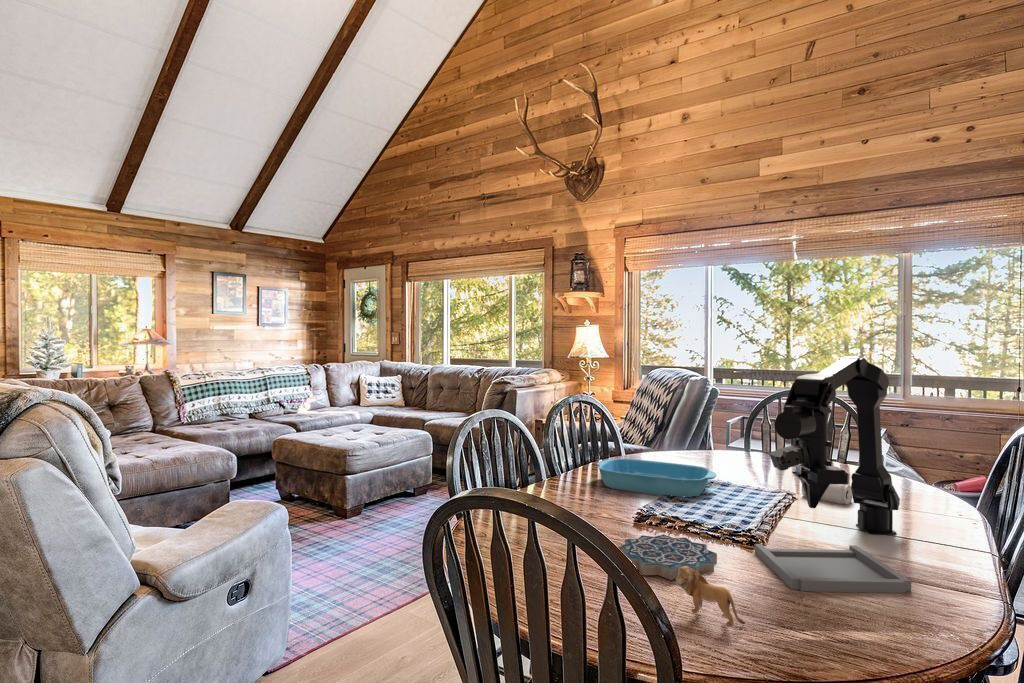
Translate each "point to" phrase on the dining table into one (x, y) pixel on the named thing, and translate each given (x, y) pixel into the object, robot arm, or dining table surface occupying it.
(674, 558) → the decorative tile
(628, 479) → the casserole dish
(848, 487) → the beverage can
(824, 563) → the tray
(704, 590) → the lion figurine
